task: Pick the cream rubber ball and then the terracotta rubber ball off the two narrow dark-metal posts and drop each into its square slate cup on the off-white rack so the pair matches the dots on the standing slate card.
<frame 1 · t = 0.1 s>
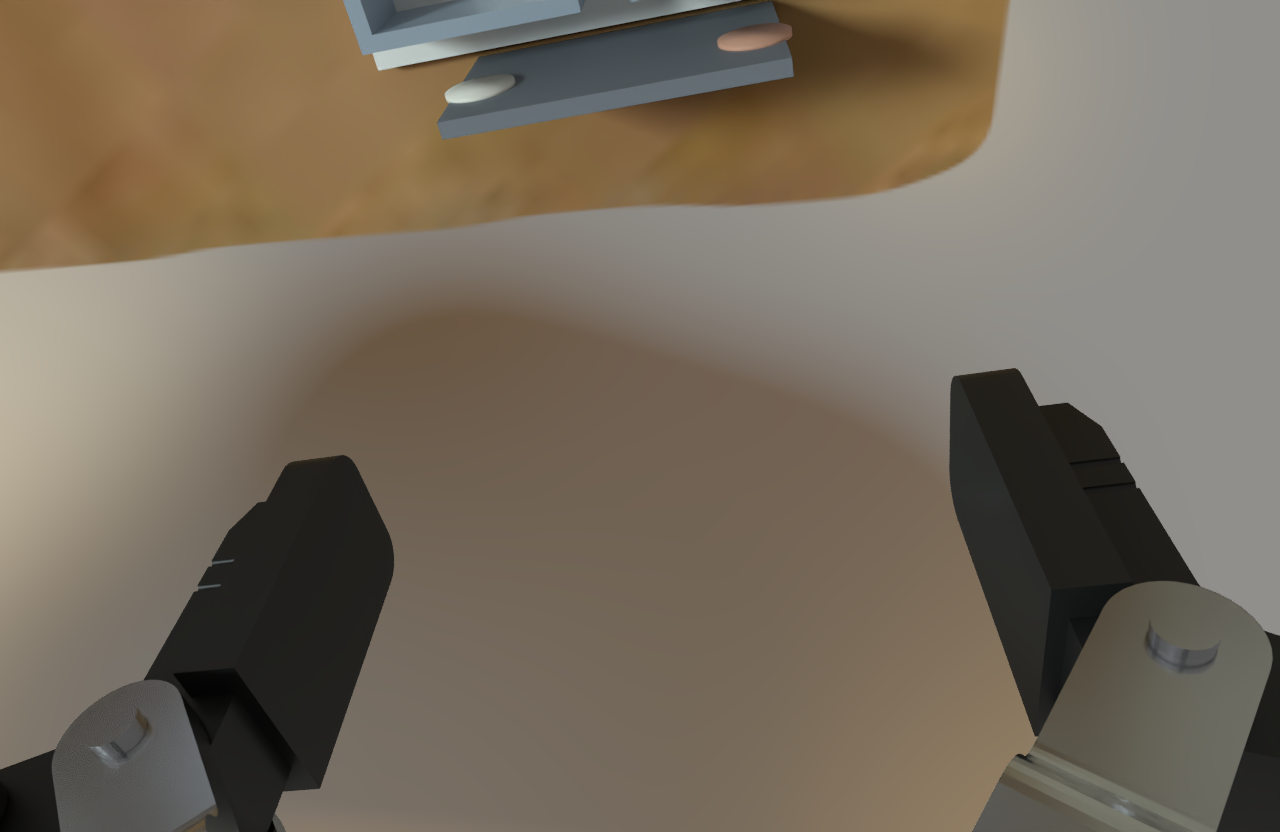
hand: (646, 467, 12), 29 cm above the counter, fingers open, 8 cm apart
target card: (623, 37, 37), on the counter
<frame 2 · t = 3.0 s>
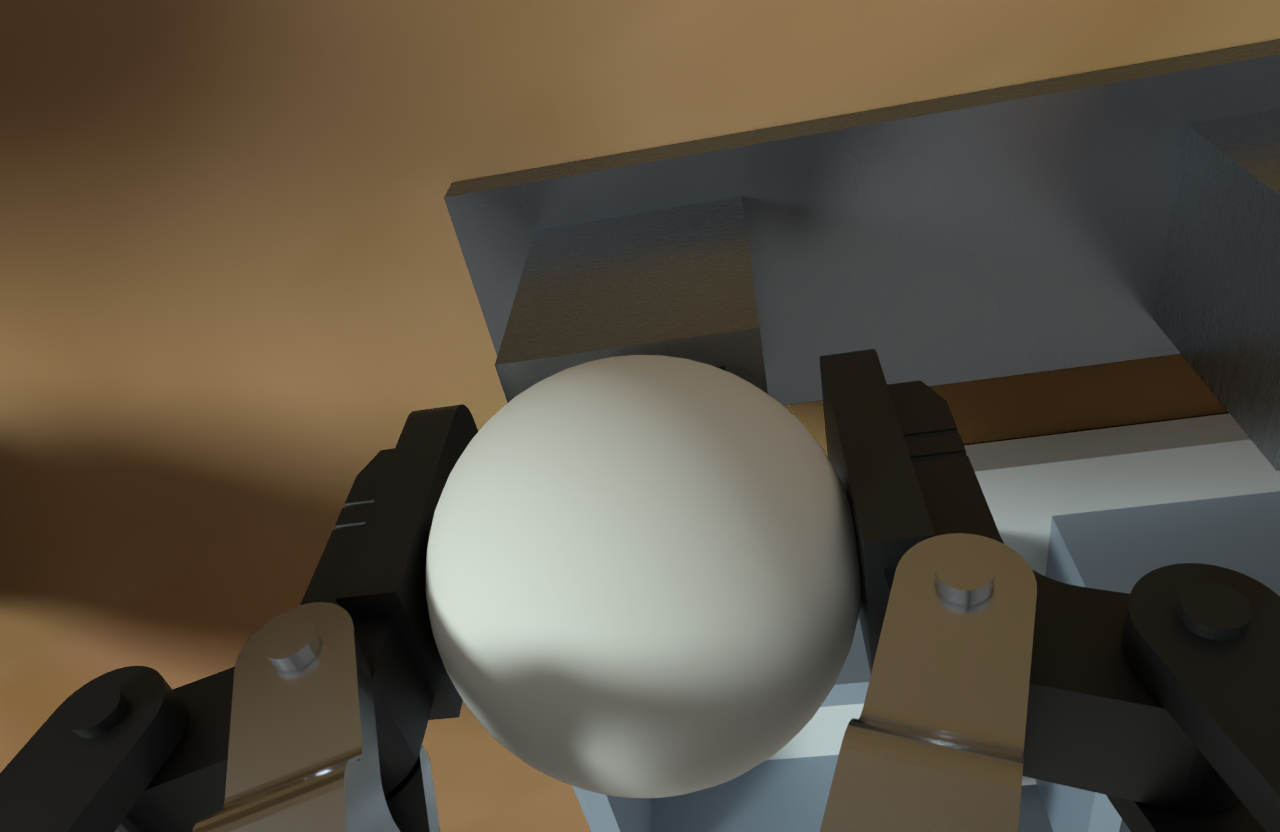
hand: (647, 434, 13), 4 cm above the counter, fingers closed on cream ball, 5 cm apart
cream ball: (643, 567, 11), point 7 cm above the counter, touching gripper, post stand
rack: (986, 625, 21), on the counter
post stand: (946, 243, 15), on the counter
target card: (978, 774, 25), on the counter
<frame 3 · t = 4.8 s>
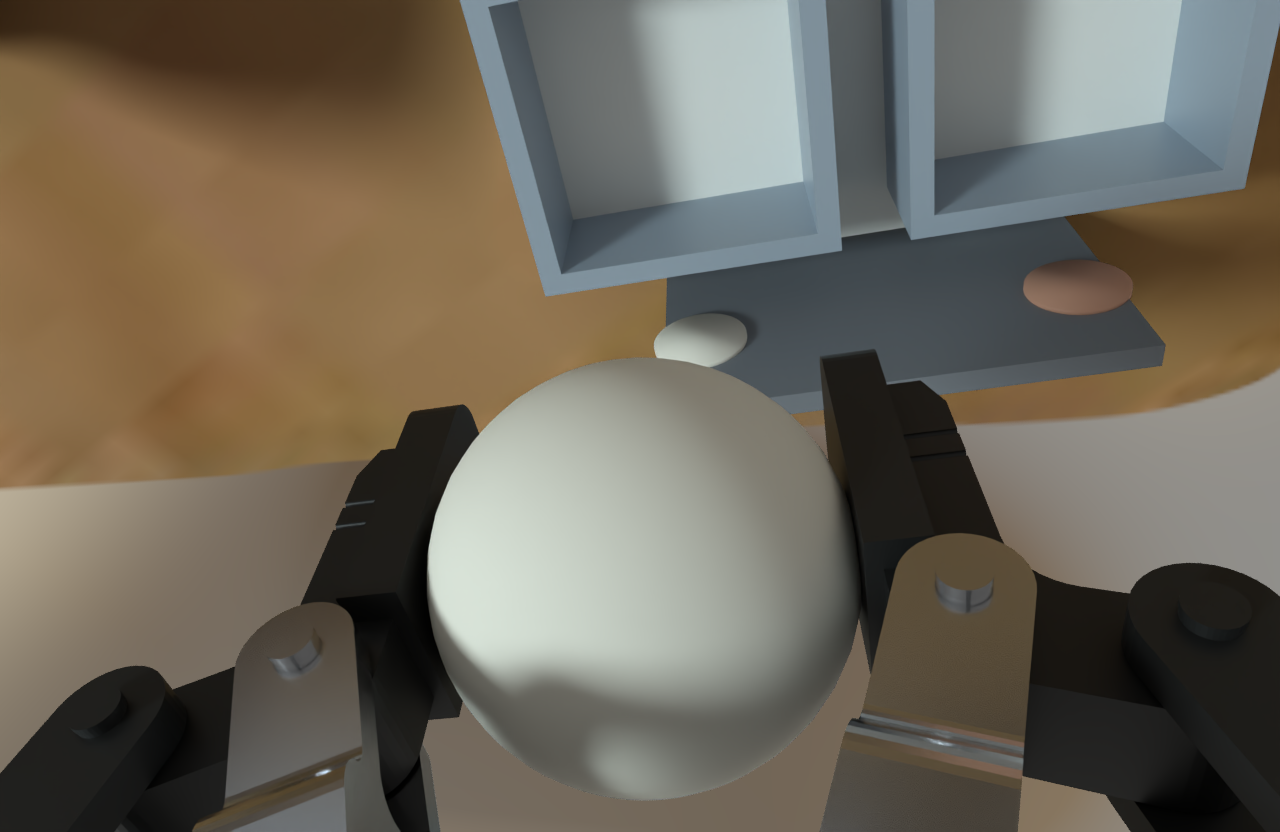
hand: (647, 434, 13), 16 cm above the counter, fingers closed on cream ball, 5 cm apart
cream ball: (644, 569, 11), point 19 cm above the counter, touching gripper
rack: (844, 42, 25), on the counter
target card: (855, 243, 29), on the counter
when the fingers open (5 cm above the counter, at t = 7.0 s): cream ball drops 4 cm, resting on rack.
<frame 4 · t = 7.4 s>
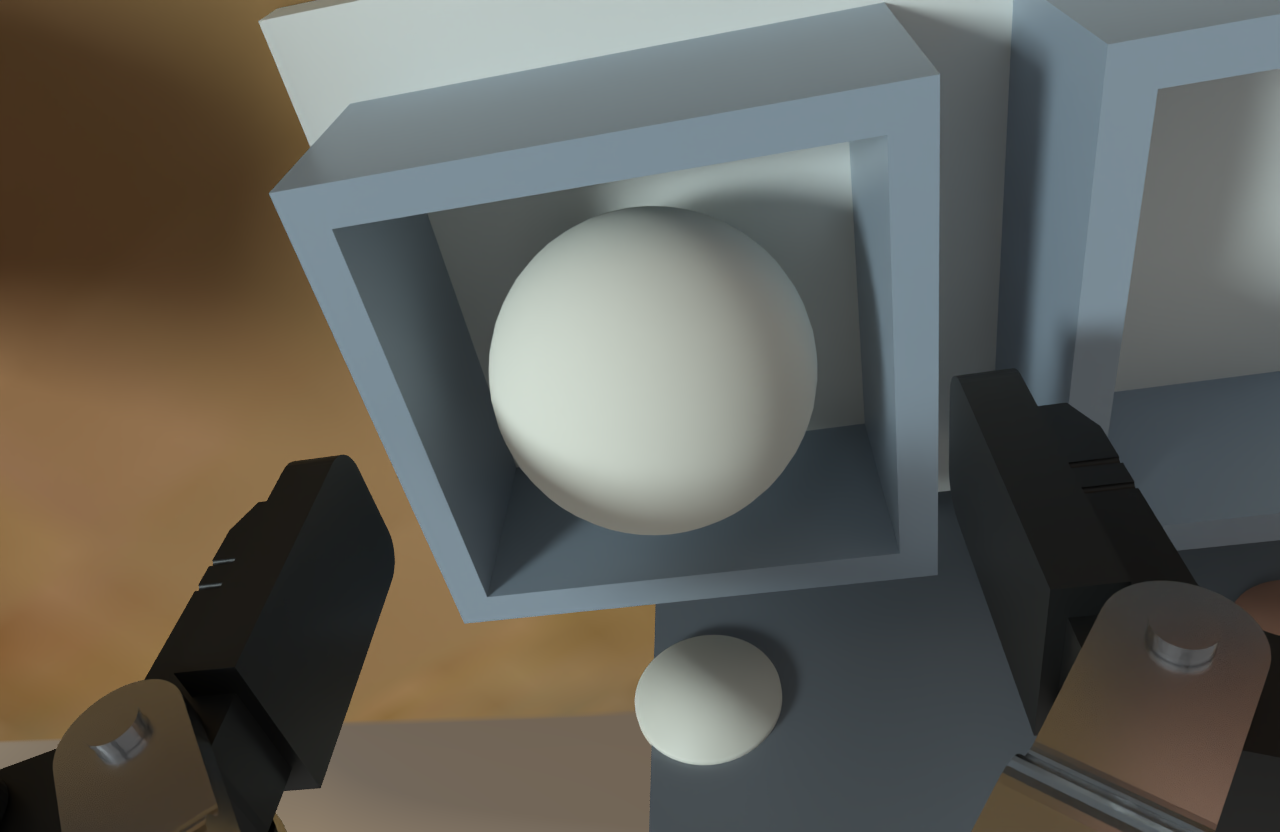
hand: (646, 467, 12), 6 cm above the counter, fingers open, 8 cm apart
cream ball: (652, 372, 14), point 3 cm above the counter, touching rack
rack: (935, 228, 16), on the counter
target card: (934, 490, 20), on the counter
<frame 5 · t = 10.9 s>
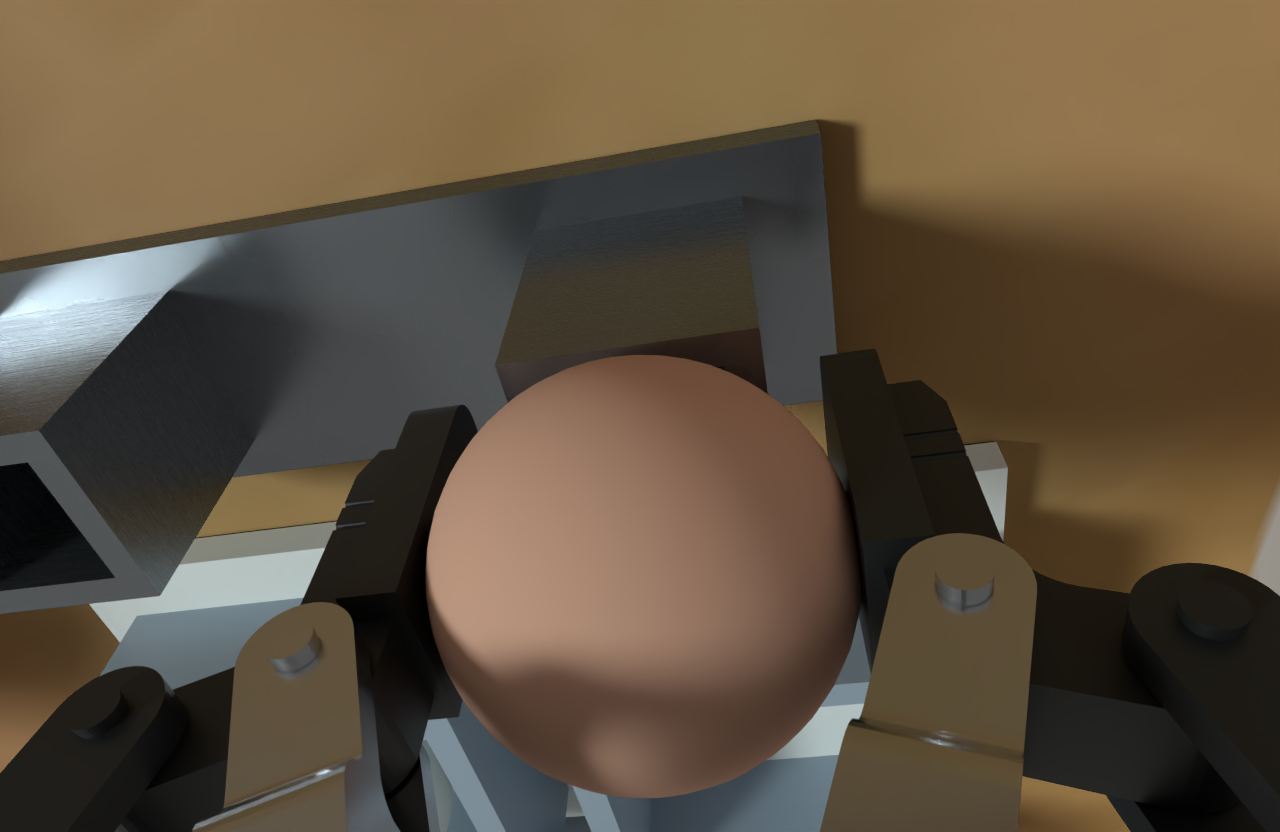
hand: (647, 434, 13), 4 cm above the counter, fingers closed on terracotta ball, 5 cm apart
terracotta ball: (643, 567, 11), point 7 cm above the counter, touching gripper, post stand
cream ball: (340, 803, 21), point 3 cm above the counter, touching rack
rack: (568, 664, 22), on the counter
post stand: (390, 327, 17), on the counter
target card: (619, 800, 26), on the counter
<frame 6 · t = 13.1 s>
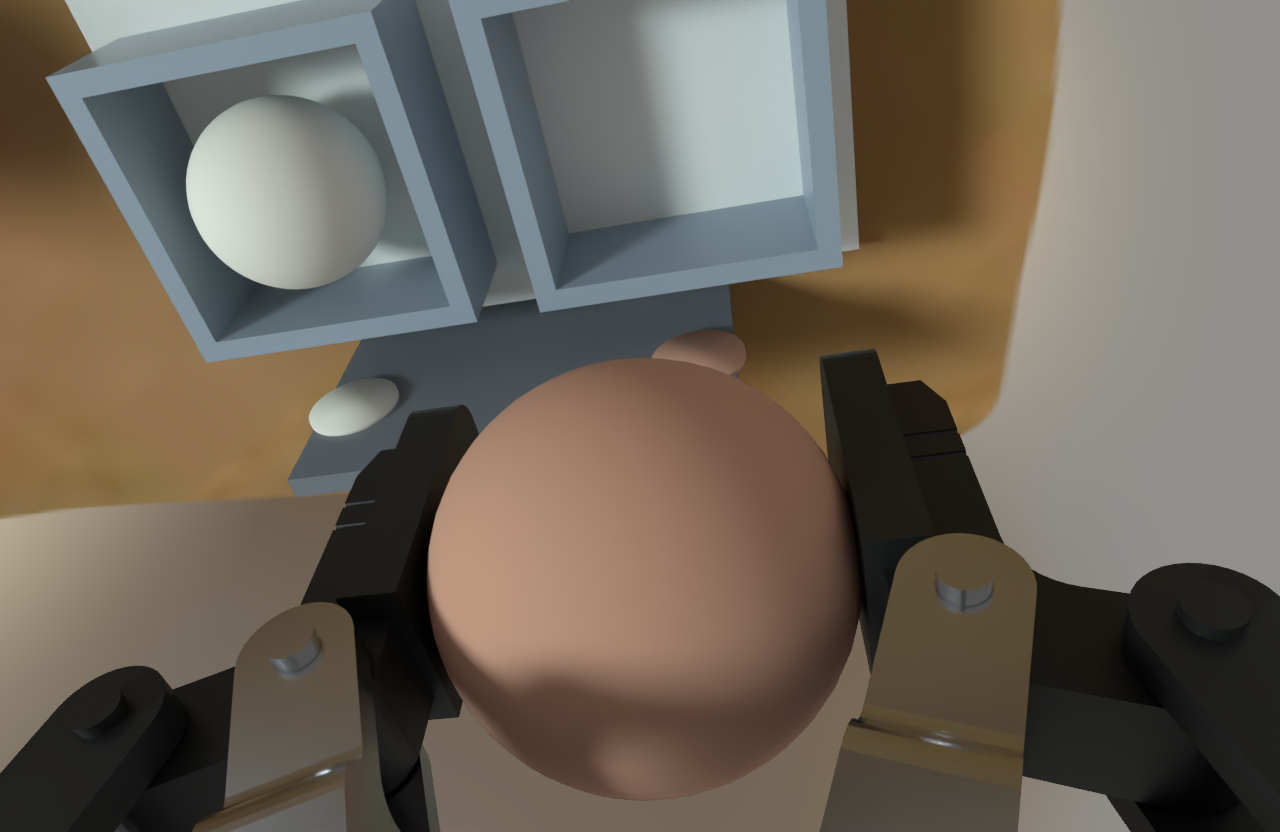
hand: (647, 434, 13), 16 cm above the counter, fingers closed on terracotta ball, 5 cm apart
terracotta ball: (644, 570, 11), point 18 cm above the counter, touching gripper
cream ball: (290, 194, 24), point 3 cm above the counter, touching rack
rack: (492, 118, 26), on the counter
target card: (545, 304, 30), on the counter
when the fingers open (5 cm above the counter, at t = 15.1 s): terracotta ball drops 4 cm, resting on rack.
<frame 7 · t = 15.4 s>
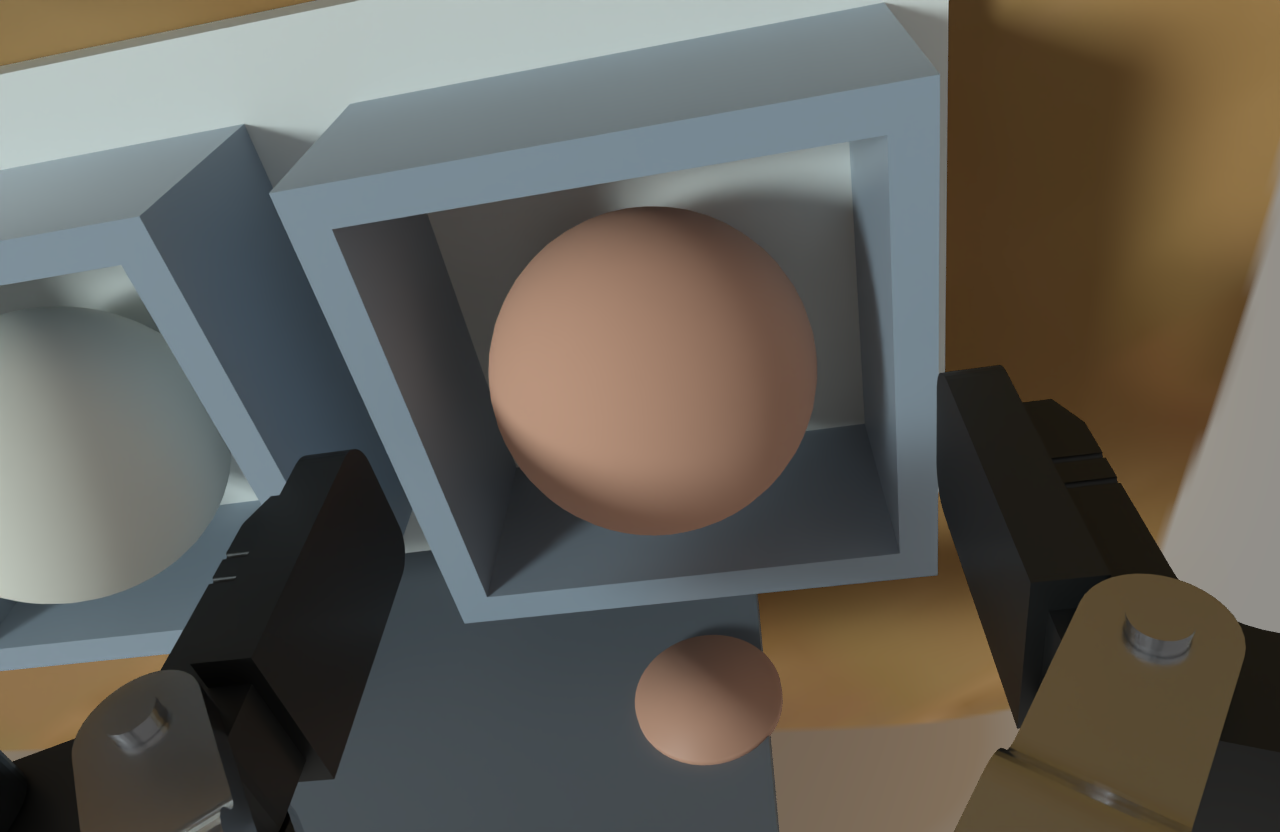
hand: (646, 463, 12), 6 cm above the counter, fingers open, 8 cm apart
terracotta ball: (652, 372, 14), point 3 cm above the counter, touching rack
cream ball: (70, 454, 15), point 3 cm above the counter, touching rack
rack: (398, 311, 17), on the counter
target card: (490, 541, 21), on the counter
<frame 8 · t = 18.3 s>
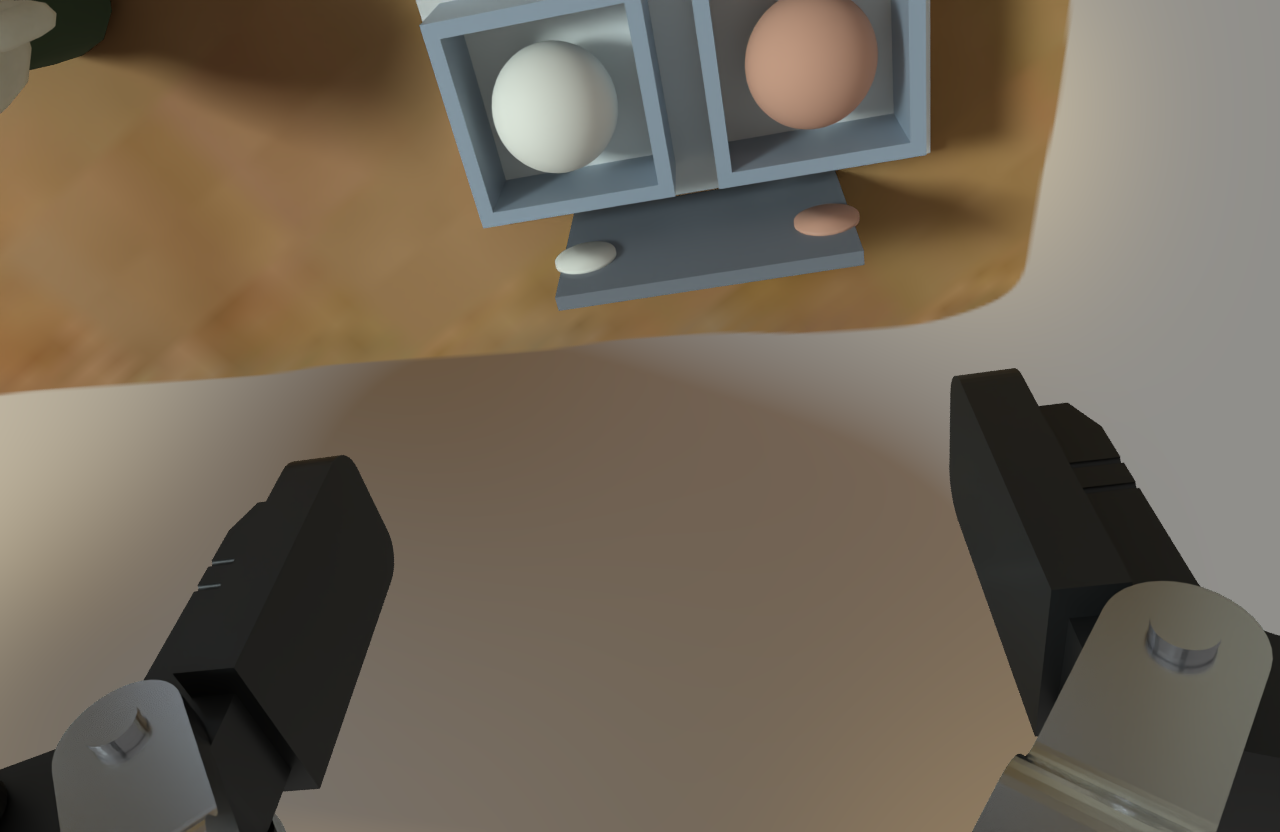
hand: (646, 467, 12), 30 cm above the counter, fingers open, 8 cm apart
terracotta ball: (810, 61, 35), point 3 cm above the counter, touching rack
cream ball: (555, 108, 36), point 3 cm above the counter, touching rack
rack: (680, 60, 38), on the counter
target card: (702, 198, 42), on the counter
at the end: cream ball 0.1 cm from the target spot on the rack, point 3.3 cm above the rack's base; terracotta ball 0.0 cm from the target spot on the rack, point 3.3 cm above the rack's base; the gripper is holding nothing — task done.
